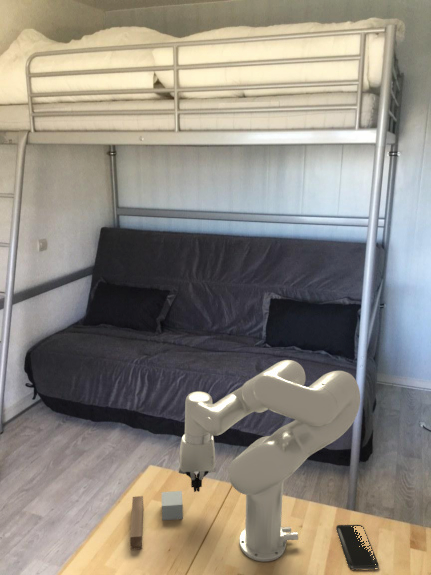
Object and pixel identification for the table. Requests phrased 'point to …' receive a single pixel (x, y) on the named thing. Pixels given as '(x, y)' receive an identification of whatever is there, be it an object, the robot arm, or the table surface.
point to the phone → (355, 548)
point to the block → (172, 505)
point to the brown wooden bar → (136, 523)
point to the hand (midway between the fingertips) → (196, 488)
